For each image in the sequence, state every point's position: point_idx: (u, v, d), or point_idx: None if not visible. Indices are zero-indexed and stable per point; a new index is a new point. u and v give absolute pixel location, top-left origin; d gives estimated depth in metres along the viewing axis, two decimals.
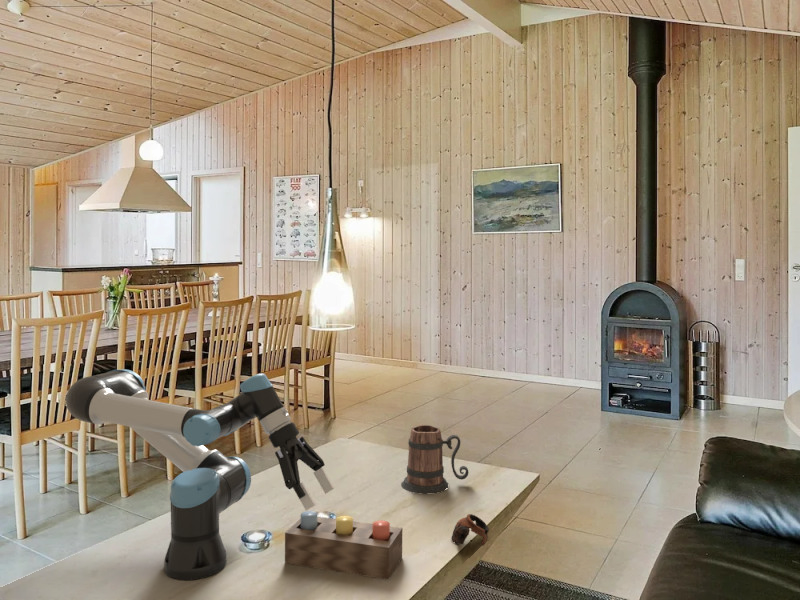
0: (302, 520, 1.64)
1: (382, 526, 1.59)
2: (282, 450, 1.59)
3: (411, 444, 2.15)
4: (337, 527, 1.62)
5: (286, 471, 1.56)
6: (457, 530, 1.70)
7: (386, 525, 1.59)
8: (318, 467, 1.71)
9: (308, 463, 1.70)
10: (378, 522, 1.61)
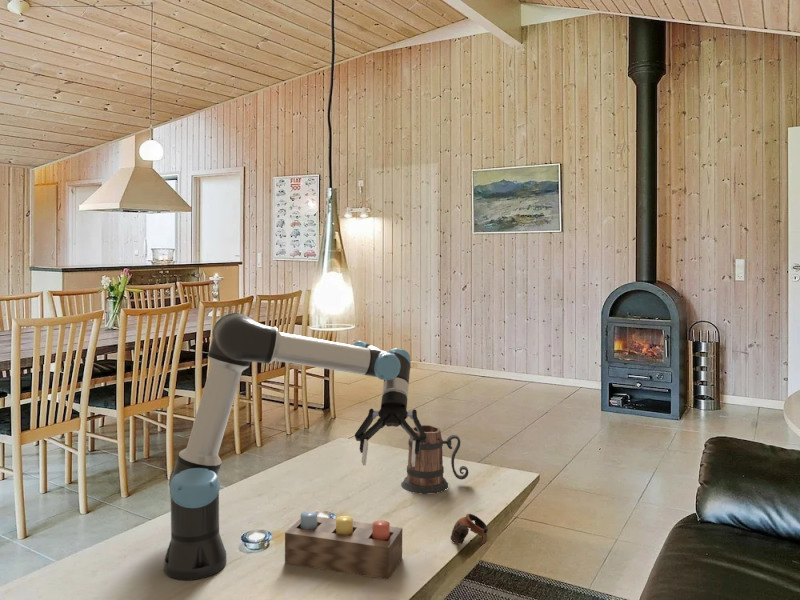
0: (302, 520, 1.64)
1: (382, 526, 1.59)
2: None
3: (411, 444, 2.15)
4: (337, 527, 1.62)
5: None
6: (456, 530, 1.71)
7: (386, 525, 1.59)
8: None
9: (373, 431, 1.77)
10: (378, 522, 1.61)
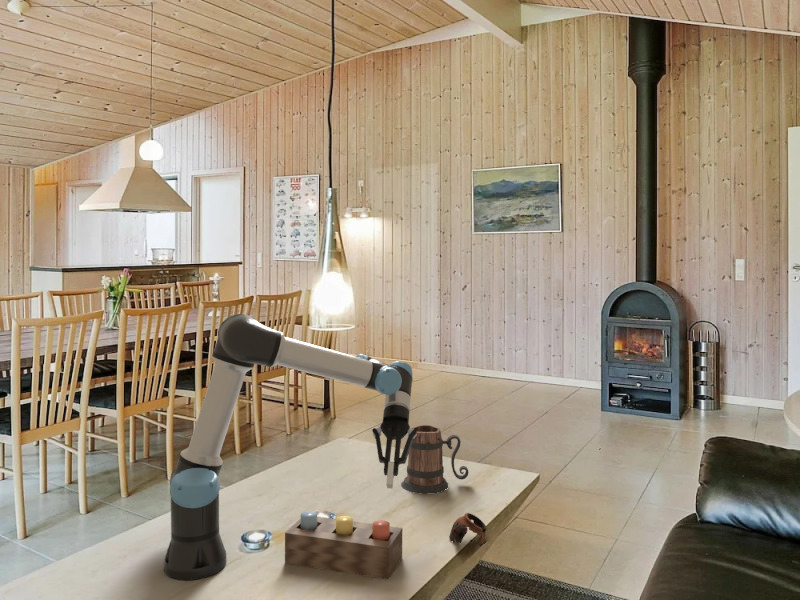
0: (302, 520, 1.64)
1: (382, 526, 1.59)
2: (416, 436, 1.79)
3: None
4: (337, 527, 1.62)
5: (408, 451, 1.75)
6: (455, 529, 1.71)
7: (386, 525, 1.59)
8: None
9: (390, 449, 1.75)
10: (378, 522, 1.61)
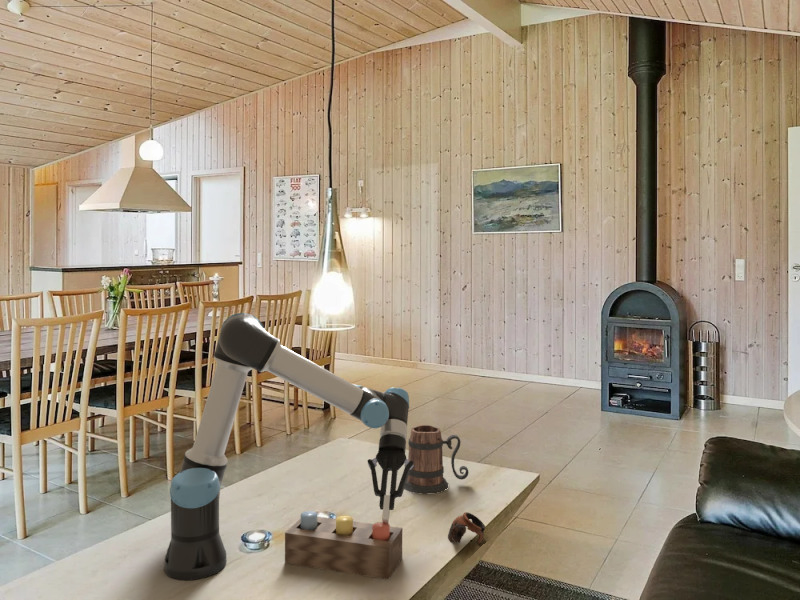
0: (302, 520, 1.64)
1: (382, 528, 1.59)
2: (412, 467, 1.73)
3: (411, 444, 2.15)
4: (337, 527, 1.62)
5: (405, 483, 1.69)
6: (454, 528, 1.71)
7: (386, 527, 1.60)
8: None
9: (386, 482, 1.69)
10: (378, 524, 1.61)
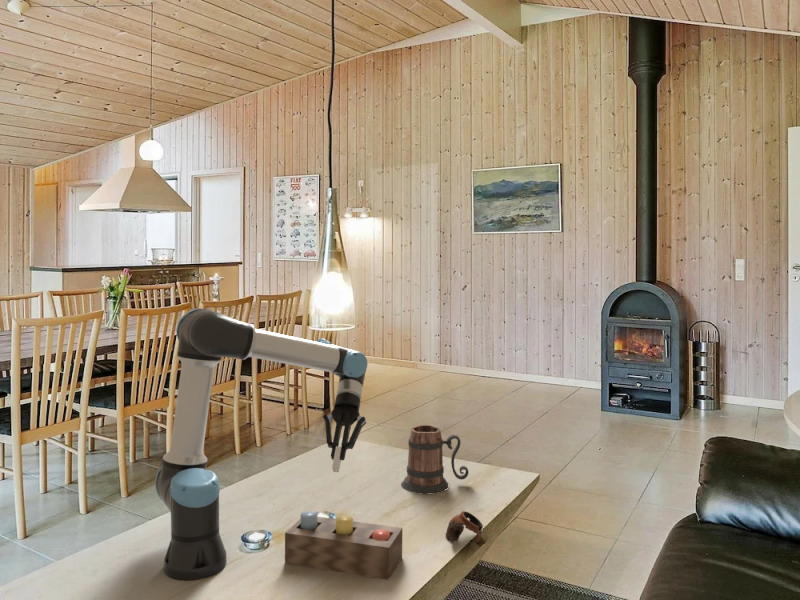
0: (302, 520, 1.64)
1: (381, 535, 1.59)
2: (365, 423, 1.85)
3: (411, 444, 2.15)
4: (337, 527, 1.62)
5: (356, 436, 1.82)
6: (452, 527, 1.72)
7: (386, 534, 1.60)
8: None
9: (338, 435, 1.82)
10: (378, 531, 1.61)
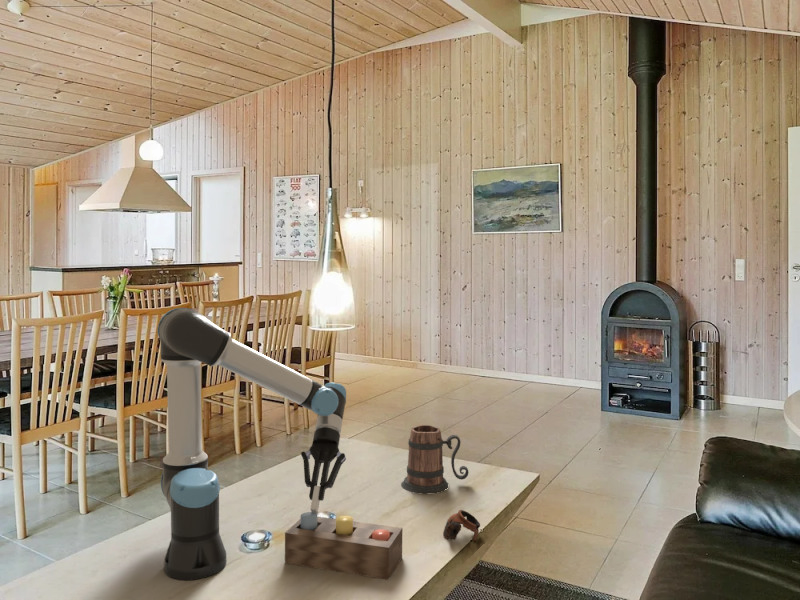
0: (302, 521, 1.64)
1: (381, 535, 1.59)
2: (344, 459, 1.78)
3: (411, 444, 2.15)
4: (337, 527, 1.62)
5: (335, 475, 1.75)
6: (449, 526, 1.73)
7: (386, 534, 1.60)
8: None
9: (317, 473, 1.74)
10: (378, 531, 1.61)
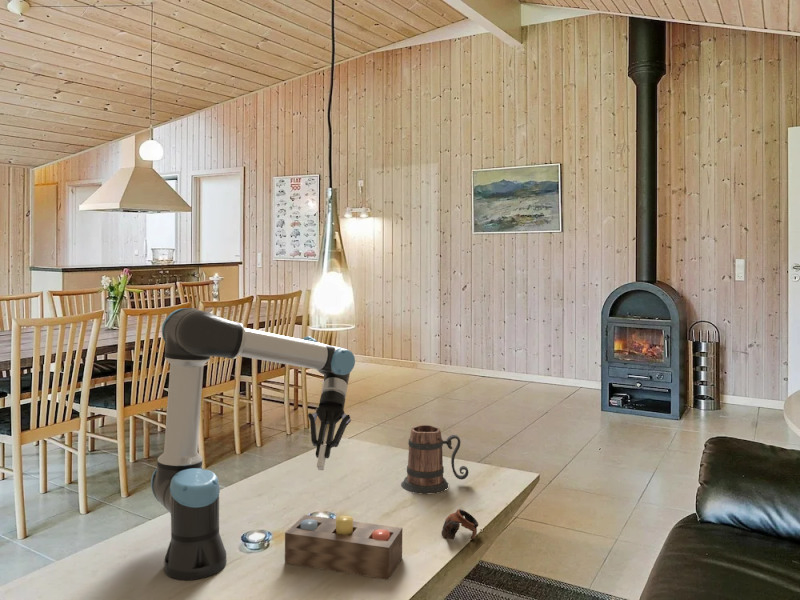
0: (302, 528, 1.65)
1: (381, 535, 1.59)
2: (349, 421, 1.86)
3: (411, 444, 2.15)
4: (337, 527, 1.62)
5: (341, 435, 1.82)
6: (448, 525, 1.74)
7: (386, 534, 1.60)
8: None
9: (323, 433, 1.82)
10: (378, 531, 1.61)
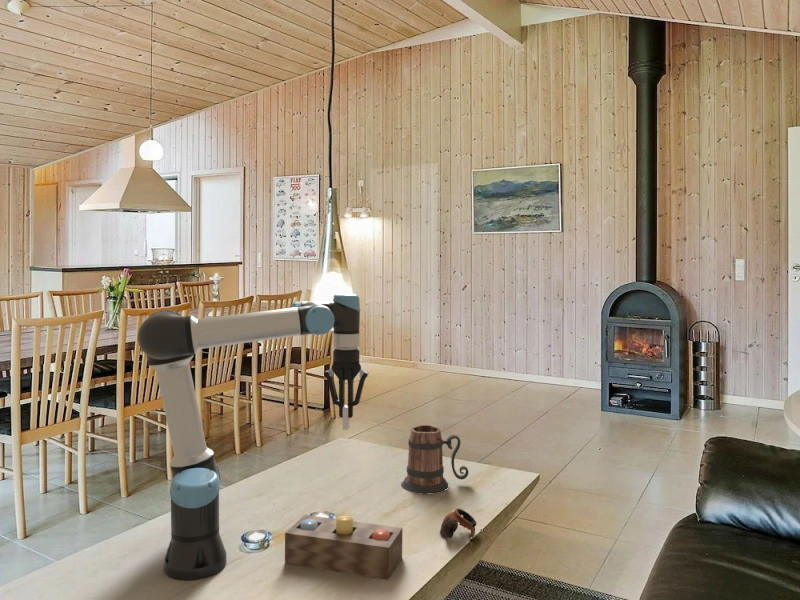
0: (302, 528, 1.65)
1: (381, 535, 1.59)
2: None
3: (411, 444, 2.15)
4: (337, 527, 1.62)
5: (361, 392, 1.81)
6: (446, 524, 1.74)
7: (386, 534, 1.60)
8: None
9: (343, 393, 1.81)
10: (378, 531, 1.61)
